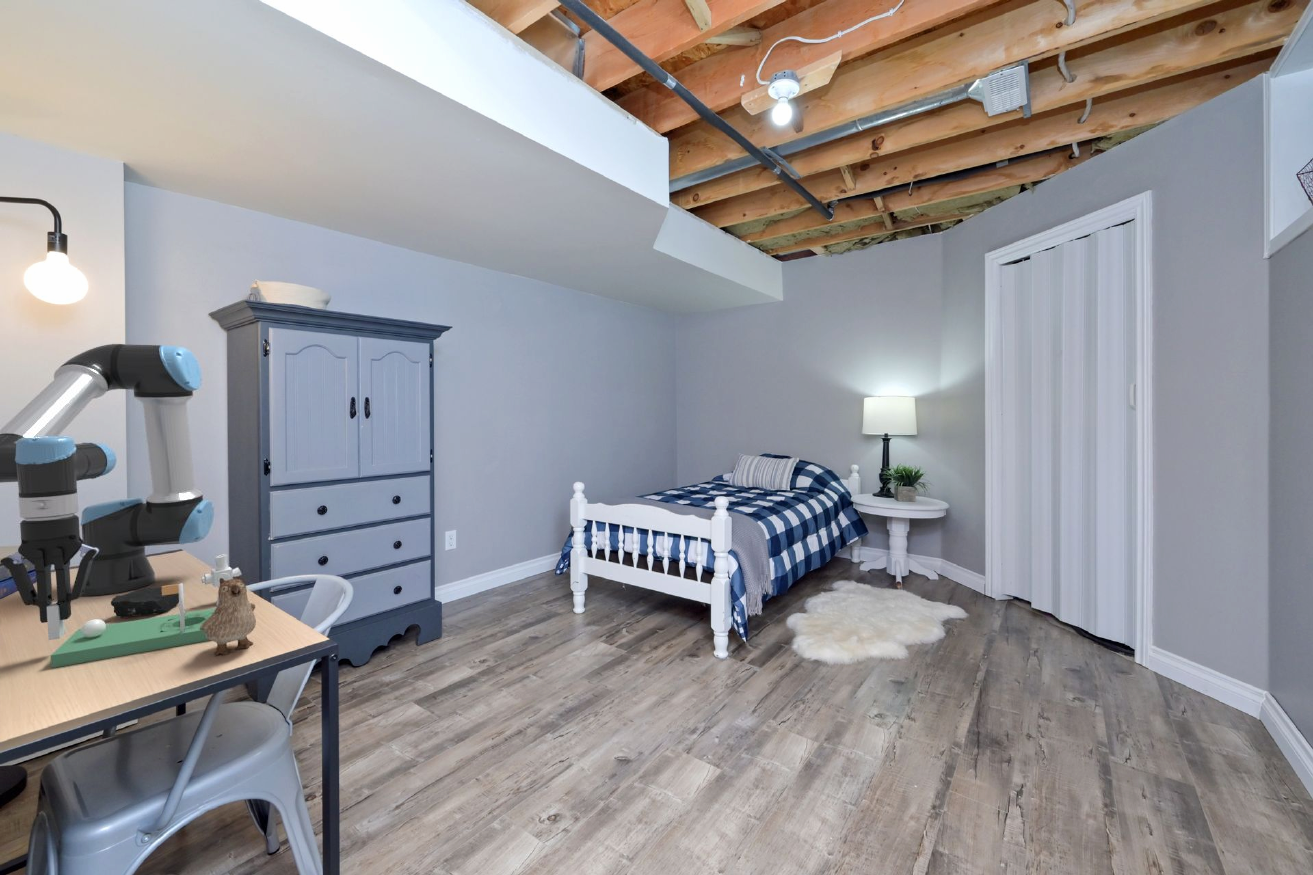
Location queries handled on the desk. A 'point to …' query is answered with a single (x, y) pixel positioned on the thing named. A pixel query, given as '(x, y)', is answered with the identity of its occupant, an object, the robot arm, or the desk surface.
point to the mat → (136, 635)
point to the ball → (93, 628)
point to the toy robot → (220, 573)
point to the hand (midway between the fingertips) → (57, 636)
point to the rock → (144, 602)
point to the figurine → (231, 616)
